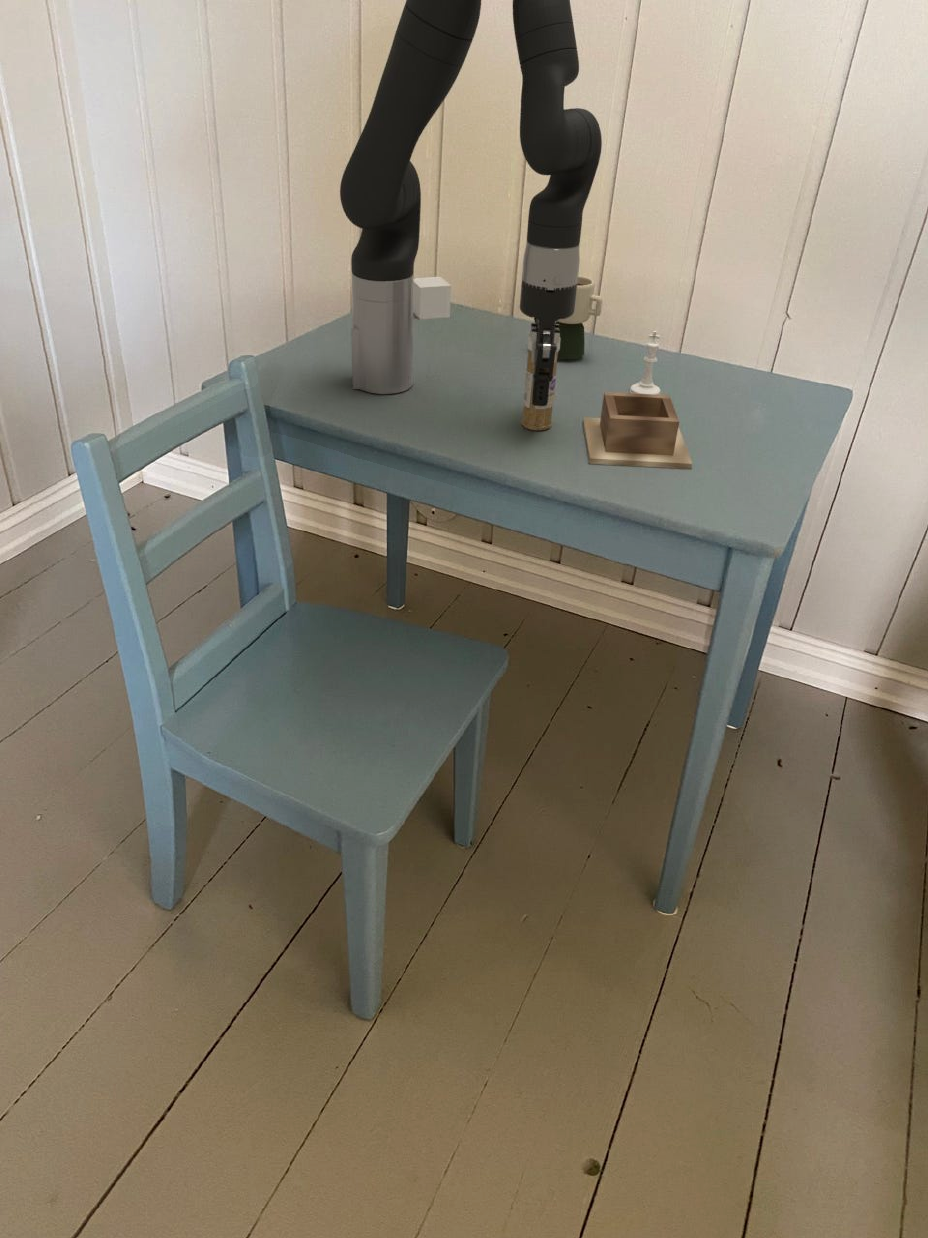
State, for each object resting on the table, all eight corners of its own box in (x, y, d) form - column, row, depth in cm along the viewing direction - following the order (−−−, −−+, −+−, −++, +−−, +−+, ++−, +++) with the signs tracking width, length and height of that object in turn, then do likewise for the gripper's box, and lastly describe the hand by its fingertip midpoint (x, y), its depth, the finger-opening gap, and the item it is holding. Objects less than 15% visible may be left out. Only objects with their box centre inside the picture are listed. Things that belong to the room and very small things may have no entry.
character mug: (602, 356, 162) (612, 280, 155) (586, 369, 157) (596, 290, 150) (545, 344, 166) (552, 269, 159) (528, 355, 161) (535, 279, 154)
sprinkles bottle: (547, 433, 135) (556, 342, 127) (517, 428, 136) (524, 337, 128) (554, 421, 139) (564, 332, 131) (525, 417, 140) (532, 328, 132)
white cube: (439, 308, 181) (440, 276, 178) (450, 317, 177) (451, 285, 173) (410, 310, 179) (410, 278, 176) (419, 319, 175) (420, 287, 171)
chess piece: (659, 400, 147) (670, 338, 141) (628, 396, 148) (638, 334, 142) (660, 389, 151) (671, 328, 145) (630, 385, 152) (639, 324, 146)
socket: (589, 463, 127) (594, 424, 124) (582, 422, 139) (587, 384, 136) (691, 468, 127) (699, 429, 124) (675, 426, 139) (682, 389, 135)
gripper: (521, 261, 131) (512, 378, 141) (522, 291, 119) (513, 416, 129) (574, 264, 131) (562, 381, 141) (581, 294, 119) (567, 419, 129)
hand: (538, 397), depth 135 cm, fingers closed on sprinkles bottle, 4 cm apart
